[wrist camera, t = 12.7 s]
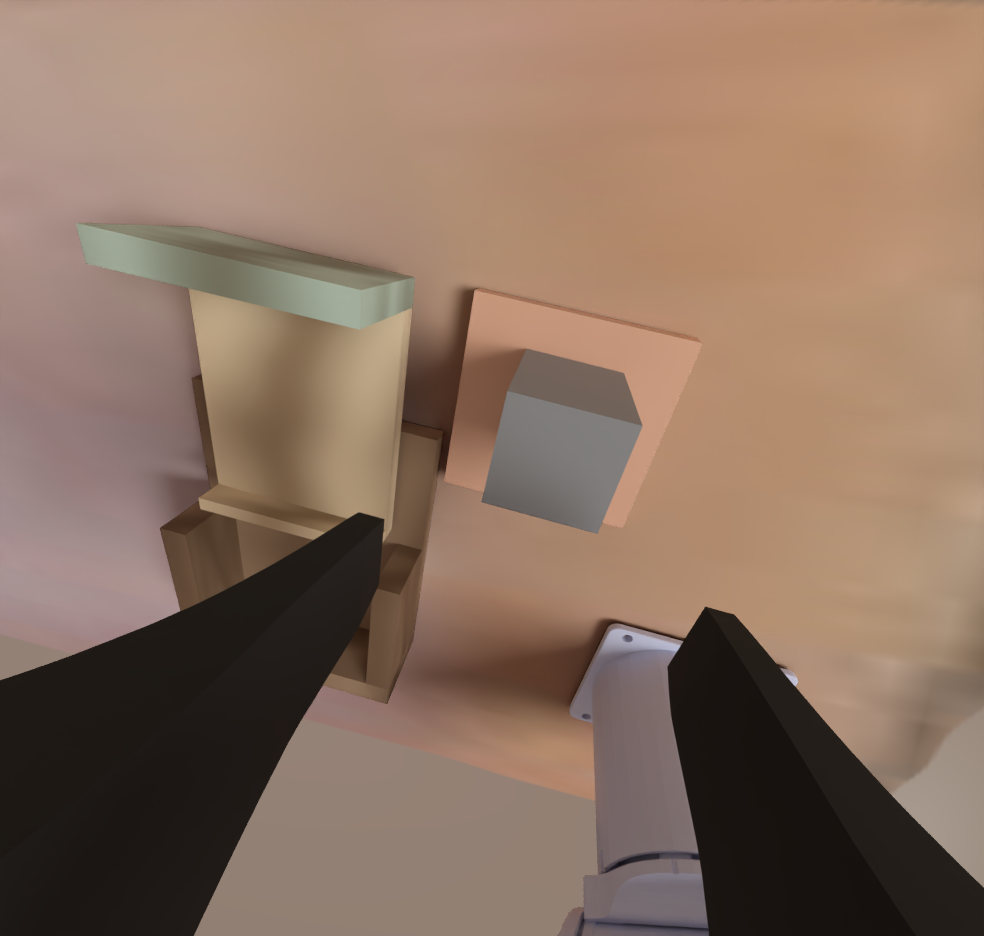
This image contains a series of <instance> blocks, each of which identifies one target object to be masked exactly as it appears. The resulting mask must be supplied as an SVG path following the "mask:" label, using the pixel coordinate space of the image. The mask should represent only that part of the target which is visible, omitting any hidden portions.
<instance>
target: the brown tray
mask: <svg viewBox="0 0 984 936" xmlns="http://www.w3.org/2000/svg"><path fill="white" fill-rule="evenodd" d="M192 382H193V388H194V394H195V400H196V406H197V412H198V418H199V424H200V430H201V436H202V442H203V449H204V455H205V461H206V467H207V473H208V479H209V485H210V489H212V488H213V487H215V486H216V485H218V477H217V471H216V464H215V457H214V451H213V444H212V438H211V431H210V425H209V418H208V412H207V405H206V399H205V392H204V386H203V379H202V375H199V376H196V377H194V378H192ZM443 435H444V431H441V430H437V429H433V428H429V427H425V426H421V425H417V424H413V423H409V422H405V421H402V424H401V434H400V445H399V456H398V467H397V477H396V488H395V499H394V510H393V520H392V529H391V531H390V532H389V534H388V536H387V537H386V539H385V540H384V542H383V543H382V554H381V566H380V577H379V586H378V588H377V590H376V592H375V594H374V596H373V599H372V601H371V603H370V605H369V607H368V609H367V611H366V614H365V616H364V618H363V620H362V622H361V624H360V626H359V627H358V629H357V631H356V632H355V634H354V636H353V637H352V639H351V641H350V642H349V644H348V646H347V647H346V649H345V650H344V652H343V654H342V655H341V657H340V659H339V660H338V662H337V663H336V665H335V667H334V668H333V670H332V671H331V673H330V675H329V676H328V678H327V679H326V681H325V683H324V684H323V685H324V686H327V687H331V688H334V689H338V690H341V691H344V692H348V693H351V694H355V695H358V696H361V697H365V698H368V699H372V700H375V701H378V702H382V703H385V704H387V703H388V700H389V698H390V696H391V693H392V691H393V688H394V686H395V683H396V681H397V678H398V676H399V673H400V671H401V669H402V666H403V664H404V661H405V659H406V656H407V654H408V651H409V649H410V646H411V644H412V642H413V636H414V630H415V623H416V616H417V610H418V603H419V596H420V590H421V583H422V576H423V569H424V563H425V556H426V549H427V543H428V536H429V529H430V522H431V516H432V509H433V502H434V496H435V489H436V482H437V476H438V469H439V462H440V455H441V449H442V442H443ZM160 531H161V535H162V539H163V543H164V547H165V551H166V555H167V559H168V563H169V567H170V571H171V574H172V578H173V582H174V586H175V590H176V594H177V598H178V602H179V606H180V610H181V611H182V610H184V609H187V608H189V607H191V606H193V605H195V604H197V603H199V602H202V601H204V600H206V599H208V598H210V597H212V596H214V595H216V594H218V593H220V592H222V591H224V590H226V589H228V588H229V587H231V586H233V585H235V584H237V583H239V582H241V581H243V580H244V579H246V578H248V577H250V576H252V575H254V574H256V573H257V572H259V571H261V570H263V569H265V568H267V567H268V566H270V565H272V564H274V563H275V562H277V561H279V560H281V559H282V558H284V557H286V556H287V555H289V554H291V553H292V552H294V551H296V550H298V549H299V548H301V547H303V546H304V545H306V544H308V543H309V542H311V541H312V539H308V538H304V537H301V536H297V535H293V534H290V533H286V532H282V531H279V530H275V529H272V528H268V527H264V526H261V525H257V524H253V523H250V522H246V521H242V520H239V519H235V518H231V517H228V516H224V515H220V514H217V513H213V512H209V511H206V510H202V509H200V504H199V501H198V502H197V503H195V504H194V505H193V506H191V507H190V508H188V509H187V510H185V511H184V512H182V513H181V514H180V515H178V516H177V517H175V518H174V519H172V520H171V521H170V522H168V523H167V524H165V525H164V526H162V527H161V528H160Z"/></svg>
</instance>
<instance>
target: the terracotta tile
mask: <svg viewBox="0 0 984 936" xmlns="http://www.w3.org/2000/svg"><path fill="white" fill-rule="evenodd" d="M702 345H703V343H702V342H701V341H700V340H699V339H697V338H693V337H689V336H684V335H680V334H676V333H671V332H667V331H663V330H658V329H654V328H650V327H645V326H641V325H637V324H633V323H628V322H624V321H620V320H615V319H611V318H607V317H602V316H598V315H594V314H589V313H585V312H581V311H576V310H572V309H568V308H563V307H559V306H555V305H551V304H546V303H542V302H538V301H533V300H529V299H525V298H520V297H516V296H512V295H507V294H503V293H499V292H494V291H490V290H486V289H481V288H478V289H476V290H475V291H474V297H473V303H472V310H471V316H470V322H469V328H468V335H467V341H466V347H465V353H464V360H463V366H462V372H461V379H460V385H459V391H458V397H457V404H456V410H455V416H454V422H453V429H452V435H451V441H450V448H449V454H448V460H447V466H446V473H445V479H444V482H447V483H451V484H455V485H459V486H463V487H467V488H470V489H474V490H478V491H482V492H484V489H485V485H486V480H487V476H488V472H489V468H490V463H491V459H492V455H493V450H494V446H495V442H496V438H497V433H498V429H499V425H500V420H501V416H502V412H503V408H504V403H505V399H506V395H507V391H508V389H509V386H510V384H511V382H512V380H513V378H514V375H515V373H516V371H517V369H518V367H519V364H520V362H521V360H522V358H523V356H524V353H525V351H526V349H531V350H535V351H539V352H543V353H547V354H551V355H555V356H559V357H563V358H567V359H571V360H575V361H579V362H583V363H586V364H590V365H594V366H598V367H602V368H606V369H610V370H614V371H618V372H622V373H624V374H625V377H626V380H627V383H628V386H629V389H630V391H631V394H632V397H633V400H634V403H635V405H636V408H637V411H638V414H639V417H640V420H641V422H642V425H643V427H642V429H641V431H640V434H639V436H638V439H637V441H636V443H635V446H634V448H633V450H632V453H631V455H630V458H629V460H628V462H627V465H626V467H625V470H624V472H623V474H622V477H621V479H620V481H619V484H618V486H617V489H616V491H615V493H614V496H613V498H612V501H611V503H610V505H609V508H608V510H607V512H606V515H605V517H604V520H603V522H602V523H605V524H609V525H613V526H616V527H620V528H623V526H624V524H625V522H626V520H627V517H628V515H629V513H630V510H631V508H632V506H633V503H634V501H635V499H636V497H637V494H638V492H639V490H640V487H641V485H642V483H643V481H644V478H645V476H646V474H647V471H648V469H649V467H650V464H651V462H652V460H653V458H654V455H655V453H656V451H657V448H658V446H659V444H660V441H661V439H662V437H663V435H664V432H665V430H666V428H667V425H668V423H669V421H670V418H671V416H672V414H673V412H674V409H675V407H676V405H677V402H678V400H679V398H680V395H681V393H682V391H683V389H684V386H685V384H686V382H687V379H688V377H689V375H690V373H691V370H692V368H693V366H694V363H695V361H696V359H697V356H698V354H699V352H700V350H701V347H702Z"/></svg>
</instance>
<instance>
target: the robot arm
mask: <svg viewBox="0 0 984 936" xmlns="http://www.w3.org/2000/svg"><path fill="white" fill-rule="evenodd" d="M384 520H385V519H382V518H379V517H375V516H371V515H368V514H364V513H361V512H358V513H356V514H355V515H353V516H351V517H349V518H348V519H346V520H345V521H343V522H341V523H340V524H338V525H337V526H335V527H333V528H332V529H330V530H329V531H327V532H325V533H324V534H322V535H321V536H319V537H317V538H316V539H314V540H312V541H311V542H309V543H308V544H306V545H304V546H303V547H301V548H299V549H298V550H296V551H294V552H292V553H291V554H289V555H287V556H286V557H284V558H282V559H281V560H279V561H277V562H275V563H274V564H272V565H270V566H268V567H267V568H265V569H263V570H261V571H259V572H257V573H256V574H254V575H252V576H250V577H248V578H246V579H244V580H243V581H241V582H239V583H237V584H235V585H233V586H231V587H229V588H228V589H226V590H224V591H222V592H220V593H218V594H216V595H214V596H212V597H210V598H208V599H206V600H204V601H202V602H199V603H197V604H195V605H193V606H191V607H189V608H187V609H184V610H182V611H180V612H178V613H176V614H173V615H171V616H169V617H167V618H164V619H162V620H160V621H158V622H155V623H153V624H151V625H148V626H146V627H143V628H141V629H138V630H136V631H133V632H131V633H128V634H126V635H123V636H120V637H118V638H115V639H113V640H110V641H108V642H105V643H103V644H100V645H98V646H95V647H92V648H90V649H87V650H85V651H82V652H80V653H77V654H75V655H72V656H69V657H66V658H64V659H61V660H58V661H55V662H53V663H50V664H47V665H44V666H41V667H38V668H35V669H33V670H30V671H27V672H24V673H21V674H18V675H15V676H12V677H9V678H6V679H3V680H0V936H194V934H195V932H196V930H197V928H198V925H199V923H200V921H201V919H202V917H203V914H204V913H205V911H206V909H207V906H208V904H209V902H210V900H211V898H212V896H213V893H214V892H215V890H216V887H217V885H218V883H219V881H220V879H221V877H222V875H223V873H224V871H225V869H226V866H227V864H228V862H229V860H230V858H231V856H232V854H233V852H234V850H235V848H236V846H237V844H238V842H239V840H240V838H241V835H242V834H243V831H244V829H245V827H246V825H247V823H248V821H249V819H250V817H251V815H252V813H253V811H254V809H255V807H256V805H257V803H258V801H259V799H260V797H261V795H262V793H263V791H264V789H265V787H266V785H267V783H268V781H269V779H270V777H271V775H272V773H273V771H274V769H275V768H276V766H277V764H278V762H279V760H280V758H281V756H282V754H283V752H284V750H285V748H286V746H287V744H288V742H289V740H290V739H291V737H292V735H293V734H294V732H295V730H296V728H297V727H298V725H299V723H300V721H301V720H302V718H303V716H304V715H305V713H306V712H307V710H308V708H309V707H310V705H311V704H312V702H313V700H314V699H315V697H316V695H317V694H318V692H319V691H320V689H321V687H322V686H323V684H324V683H325V681H326V679H327V678H328V676H329V675H330V673H331V671H332V670H333V668H334V667H335V665H336V663H337V662H338V660H339V659H340V657H341V655H342V654H343V652H344V650H345V649H346V647H347V646H348V644H349V642H350V641H351V639H352V637H353V636H354V634H355V632H356V631H357V629H358V627H359V626H360V624H361V622H362V620H363V618H364V616H365V614H366V611H367V609H368V607H369V605H370V603H371V601H372V599H373V596H374V594H375V592H376V590H377V588H378V586H379V577H380V566H381V554H382V543H383V532H384ZM625 635H630V636H625ZM797 683H798V680H797V678H796V676H795V674H794V673H793V672H792V671H790V670H786V669H783V668H779V666H778V665H777V664H776V663H775V662H774V660H773V659H772V658H771V657H770V656H769V654H768V653H767V652H766V651H765V650H764V648H763V647H762V646H761V645H760V644H759V642H758V641H757V640H756V639H755V638H754V637H753V635H752V634H751V633H750V632H749V631H748V630H747V628H746V627H745V626H744V625H743V624H742V623H741V622H740V621H739V619H738V618H737V617H736V616H735V615H734V614H730V613H726V612H723V611H719V610H715V609H712V608H708V607H705V608H704V610H703V611H702V613H701V615H700V616H699V618H698V619H697V621H696V622H695V624H694V626H693V627H692V629H691V630H690V632H689V633H688V635H687V637H686V638H685V640H684V641H681V640H677V639H673V638H670V637H666V636H662V635H659V634H655V633H651V632H648V631H644V630H640V629H637V628H633V627H629V626H626V625H622V624H617V623H616V624H612V625H610V626H609V627H608V628H607V630H606V632H605V634H604V636H603V638H602V640H601V643H600V645H599V647H598V649H597V651H596V653H595V655H594V657H593V659H592V661H591V663H590V665H589V667H588V669H587V671H586V673H585V676H584V678H583V680H582V682H581V684H580V686H579V688H578V690H577V692H576V694H575V696H574V698H573V700H572V702H571V704H570V708H569V713H570V715H571V716H572V717H574V718H576V719H579V720H583V721H586V722H590V723H593V744H594V774H595V803H596V833H597V863H598V875H586V876H584V907H577V908H574V909H572V910H571V911H570V912H569V913H568V915H567V917H566V919H565V921H564V923H563V926H562V929H561V931H560V932H559V934H558V936H984V888H983V887H982V886H981V885H980V884H979V883H978V882H977V881H976V880H975V879H974V878H973V877H972V876H971V875H970V874H969V873H968V872H967V871H966V870H965V869H964V868H963V867H962V866H961V865H960V864H959V863H958V862H957V861H956V860H955V859H954V858H953V857H952V856H951V855H950V854H949V853H947V851H946V850H945V849H944V848H943V847H942V846H941V845H940V844H939V843H938V842H937V841H936V840H935V839H934V838H933V837H932V836H931V835H930V834H928V832H927V831H926V830H925V829H924V828H923V827H922V826H921V825H920V824H918V822H917V821H916V820H915V819H914V818H913V817H912V816H911V815H910V814H909V813H908V812H907V811H906V810H905V809H904V808H903V807H902V806H901V805H900V804H899V803H898V802H897V801H896V800H895V798H893V796H892V795H891V794H890V793H889V792H888V791H887V790H886V789H885V788H884V787H883V786H882V785H881V784H880V782H879V781H878V780H877V779H876V778H875V777H874V776H873V775H872V774H871V773H870V771H869V770H868V769H867V768H866V767H865V766H864V765H863V764H862V763H861V762H860V761H859V759H858V758H857V757H856V756H855V755H854V754H853V753H852V752H851V751H850V750H849V748H848V747H847V746H846V745H845V744H844V743H843V742H842V741H841V739H840V738H839V737H838V736H837V735H836V734H835V733H834V731H833V730H832V729H831V728H830V727H829V726H828V725H827V723H826V722H825V721H824V720H823V719H822V718H821V716H820V715H819V714H818V713H817V712H816V711H815V709H814V708H813V707H812V706H811V705H810V704H809V702H808V701H807V700H806V699H805V698H804V696H803V695H802V694H801V693H800V692H799V690H798V689H797V688H796V687H795V686H796V685H797Z"/></svg>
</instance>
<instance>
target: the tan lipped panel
mask: <svg viewBox="0 0 984 936" xmlns="http://www.w3.org/2000/svg"><path fill="white" fill-rule="evenodd" d="M76 226H77V230H78V234H79V238H80V242H81V246H82V249H83V253H84V257H85V261H86V264H90V265H94V266H98V267H102V268H106V269H110V270H115V271H119V272H123V273H127V274H131V275H135V276H139V277H144V278H148V279H152V280H156V281H160V282H164V283H168V284H173V285H177V286H181V287H185V288H189V295H190V301H191V308H192V314H193V321H194V327H195V334H196V340H197V347H198V353H199V360H200V366H201V373H202V379H203V386H204V392H205V399H206V405H207V412H208V418H209V425H210V431H211V438H212V444H213V451H214V457H215V464H216V471H217V477H218V485H216V486H215V487H213V488H212V489H210V490H209V491H208V492H206V493H205V494H203V495H202V496H200V497H199V498H198V499H199V504H200V509H202V510H206V511H209V512H213V513H217V514H220V515H224V516H228V517H231V518H235V519H239V520H242V521H246V522H250V523H253V524H257V525H261V526H264V527H268V528H272V529H275V530H279V531H282V532H286V533H290V534H293V535H297V536H301V537H304V538H308V539H312V540H314V539H316V538H317V537H319V536H321V535H322V534H324V533H325V532H327V531H329V530H330V529H332V528H333V527H335V526H337V525H338V524H340V523H341V522H343V521H345V520H346V519H348V518H349V517H351V516H353V515H355V514H356V513H358V512H361V513H364V514H368V515H371V516H375V517H379V518H382V519H385V520H384V532H383V542H384V540H385V539H386V537H387V536H388V534H389V532H390V531H391V529H392V520H393V510H394V499H395V488H396V477H397V467H398V456H399V445H400V434H401V424H402V413H403V402H404V391H405V380H406V370H407V359H408V348H409V337H410V327H411V316H412V305H413V294H414V284H415V277H412V276H407V275H403V274H399V273H394V272H390V271H386V270H381V269H377V268H373V267H368V266H364V265H360V264H356V263H351V262H347V261H343V260H338V259H334V258H330V257H325V256H321V255H317V254H312V253H308V252H304V251H300V250H295V249H291V248H287V247H282V246H278V245H274V244H269V243H265V242H261V241H257V240H252V239H248V238H244V237H239V236H235V235H231V234H226V233H222V232H218V231H213V230H209V229H205V228H201V227H189V226H159V225H128V224H97V223H76Z"/></svg>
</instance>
